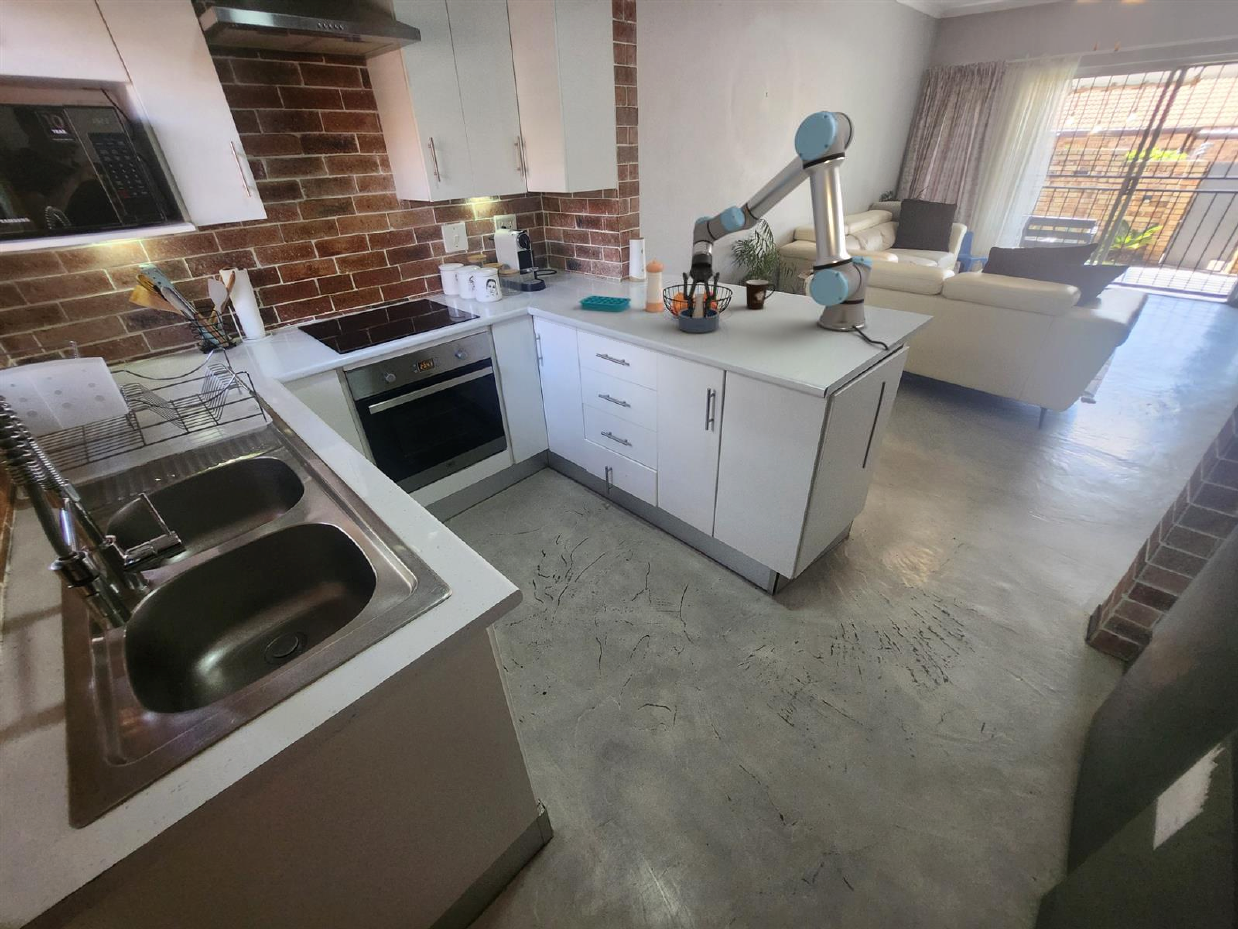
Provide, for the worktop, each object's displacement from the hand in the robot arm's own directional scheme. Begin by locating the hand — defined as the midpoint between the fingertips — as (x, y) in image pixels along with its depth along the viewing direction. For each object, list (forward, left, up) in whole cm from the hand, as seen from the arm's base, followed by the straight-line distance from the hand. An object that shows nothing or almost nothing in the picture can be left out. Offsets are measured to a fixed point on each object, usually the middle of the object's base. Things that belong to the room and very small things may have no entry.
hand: (698, 316), depth 179 cm
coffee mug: (+16, -36, -5) cm, 40 cm away
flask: (+3, -2, -3) cm, 5 cm away
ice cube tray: (+48, +19, -5) cm, 52 cm away
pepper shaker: (+34, +2, -5) cm, 35 cm away
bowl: (+3, -2, -5) cm, 6 cm away
